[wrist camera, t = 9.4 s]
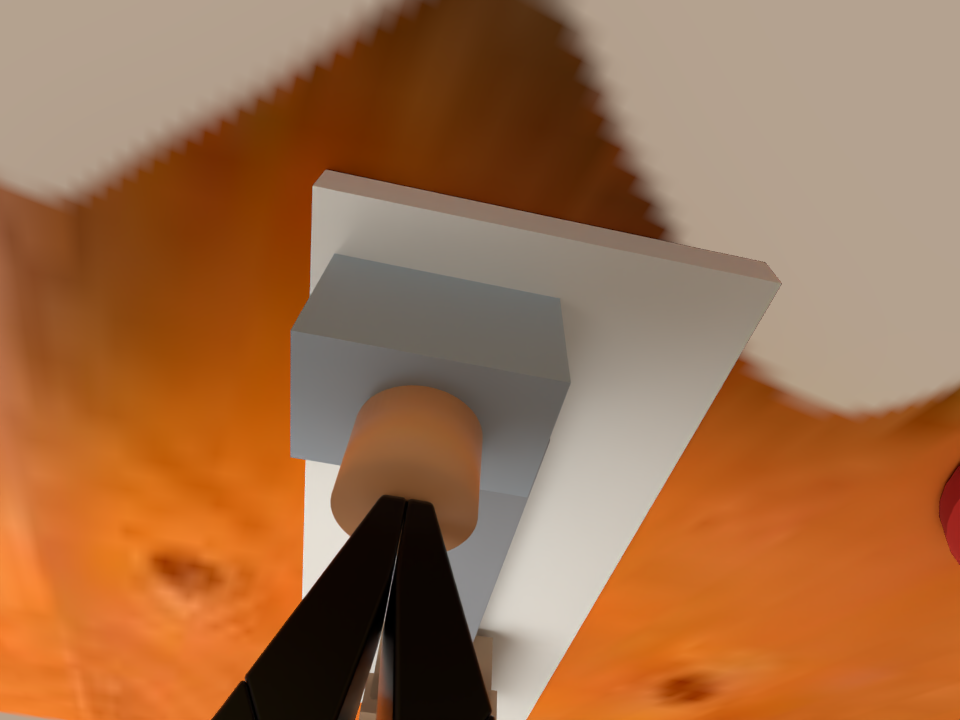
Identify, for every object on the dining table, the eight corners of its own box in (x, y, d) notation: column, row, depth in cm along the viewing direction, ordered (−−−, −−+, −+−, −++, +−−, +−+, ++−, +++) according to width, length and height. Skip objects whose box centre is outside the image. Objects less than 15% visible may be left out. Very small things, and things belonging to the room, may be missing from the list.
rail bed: (522, 700, 27) (524, 806, 23) (306, 670, 26) (277, 774, 23) (765, 262, 13) (848, 368, 10) (325, 169, 12) (259, 252, 9)
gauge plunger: (469, 487, 12) (463, 566, 10) (350, 467, 11) (327, 544, 10) (495, 398, 10) (491, 476, 9) (359, 374, 10) (333, 448, 8)
